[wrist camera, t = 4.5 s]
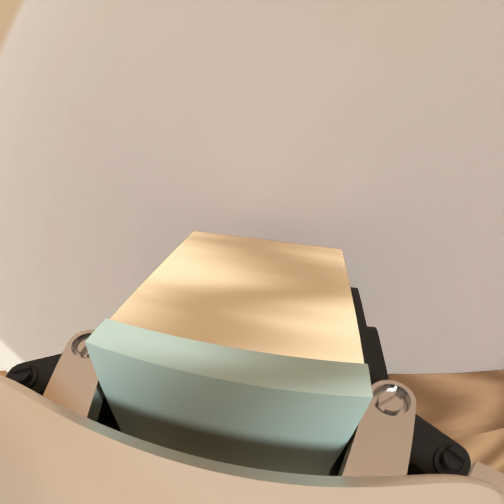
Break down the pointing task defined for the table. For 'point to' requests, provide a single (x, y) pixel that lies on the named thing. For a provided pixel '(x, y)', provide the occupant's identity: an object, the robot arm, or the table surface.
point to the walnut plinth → (464, 410)
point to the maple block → (239, 355)
